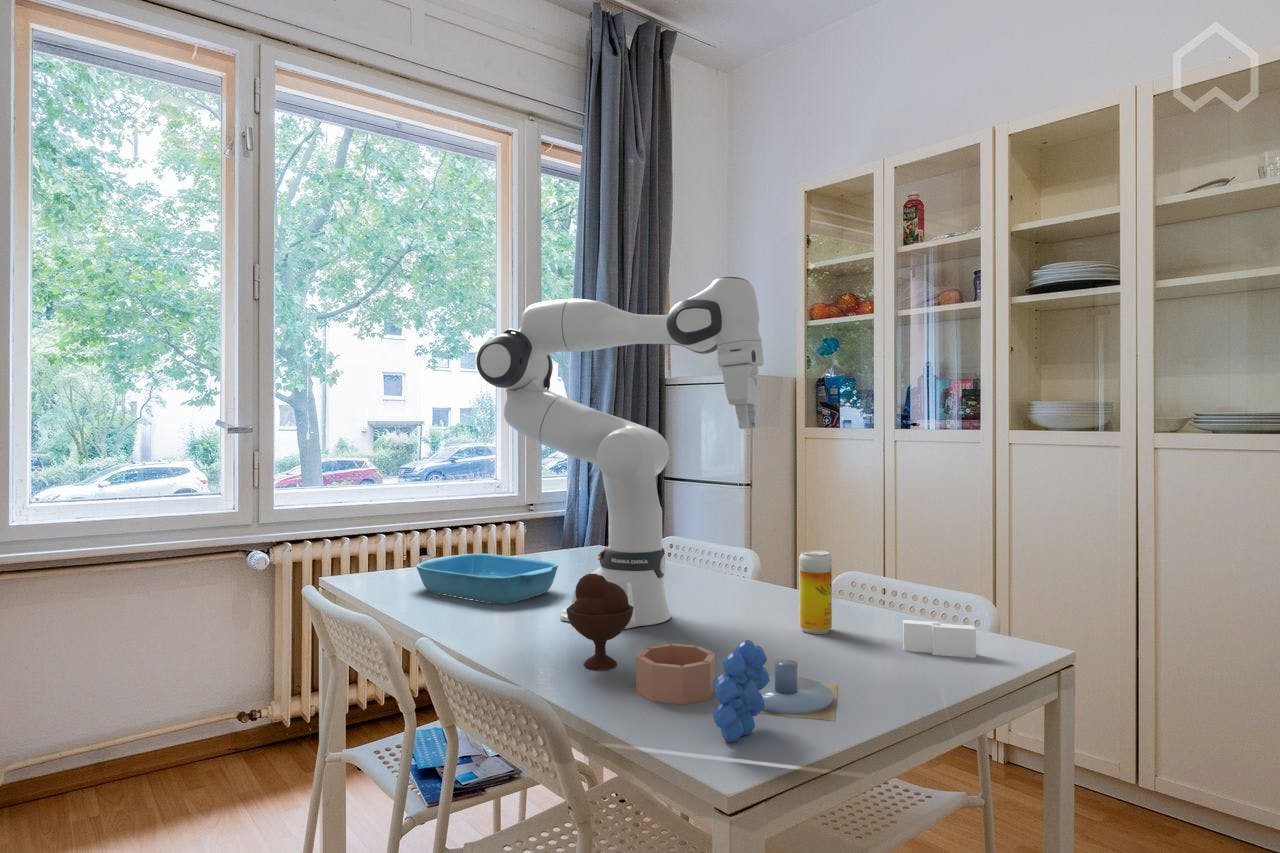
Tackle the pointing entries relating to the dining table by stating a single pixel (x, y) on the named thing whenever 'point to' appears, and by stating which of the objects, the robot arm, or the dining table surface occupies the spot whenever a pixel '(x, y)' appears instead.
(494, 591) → the casserole dish
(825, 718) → the plate
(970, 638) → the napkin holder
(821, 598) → the beer can
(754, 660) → the grapes
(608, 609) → the ice cream bowl
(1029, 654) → the dining table surface
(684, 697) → the bowl
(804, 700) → the lid
